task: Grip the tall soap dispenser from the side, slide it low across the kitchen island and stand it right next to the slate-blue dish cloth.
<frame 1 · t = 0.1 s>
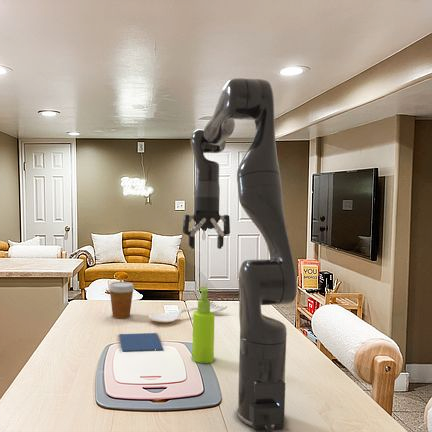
hand: (205, 248, 132), 29 cm above the table, tool pointing down, fingers open, 8 cm apart
disposable coffee cup: (121, 316, 160), on the table
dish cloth: (140, 342, 133), on the table
spoon: (186, 318, 159), on the table
soap dispenser: (202, 359, 121), on the table
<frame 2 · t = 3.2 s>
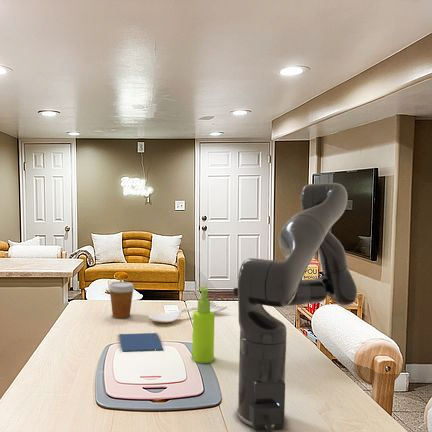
hand: (240, 295, 123), 17 cm above the table, tool horizontal, fingers open, 8 cm apart
nothing on the table moved.
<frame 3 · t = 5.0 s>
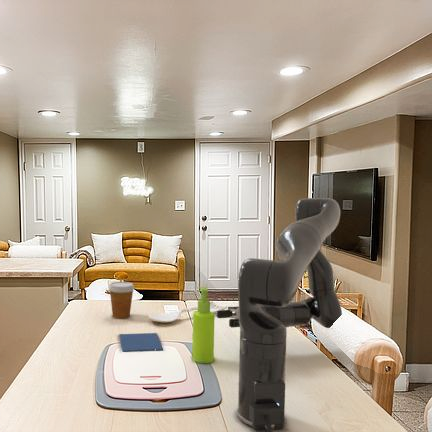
hand: (223, 318, 122), 11 cm above the table, tool horizontal, fingers open, 8 cm apart
nothing on the table moved.
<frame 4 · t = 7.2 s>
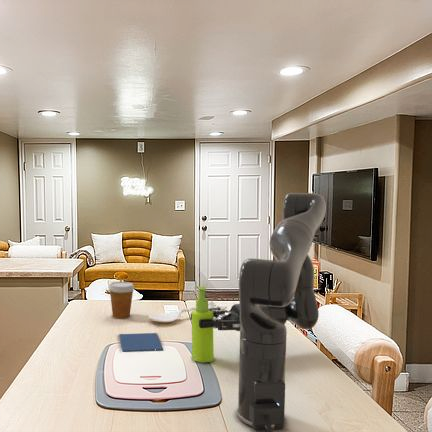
hand: (195, 320, 120), 11 cm above the table, tool horizontal, fingers closed on soap dispenser, 6 cm apart
soap dispenser: (202, 358, 121), on the table, touching gripper
everything else where it was.
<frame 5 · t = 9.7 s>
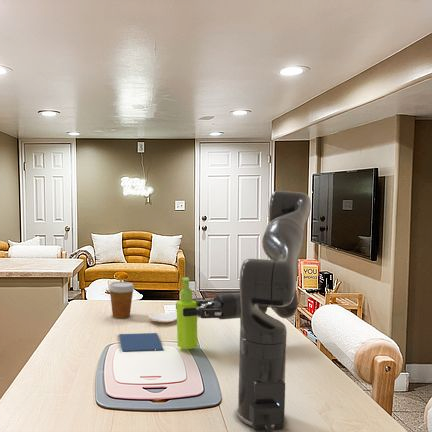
hand: (179, 309, 126), 12 cm above the table, tool horizontal, fingers closed on soap dispenser, 6 cm apart
soap dispenser: (187, 345, 128), point 1 cm above the table, touching gripper
everything else where it was.
when the fingers open (11 cm above the table, at t = 12.2 s): soap dispenser stays where it is, on the table.
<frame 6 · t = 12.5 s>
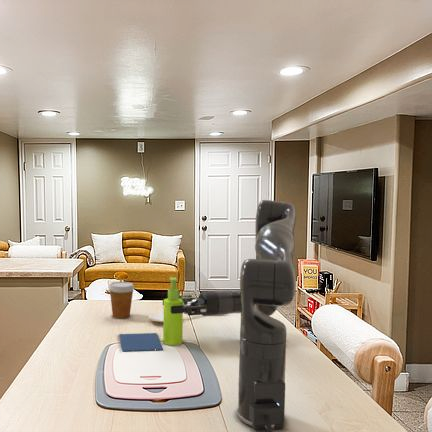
hand: (166, 306, 133), 11 cm above the table, tool horizontal, fingers open, 8 cm apart
soap dispenser: (172, 341, 134), on the table
everything else where it was.
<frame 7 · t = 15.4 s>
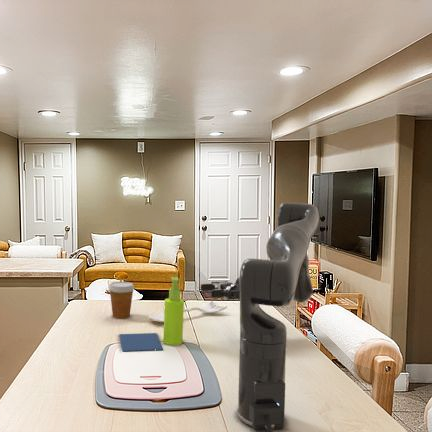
hand: (206, 290, 136), 16 cm above the table, tool horizontal, fingers open, 8 cm apart
nothing on the table moved.
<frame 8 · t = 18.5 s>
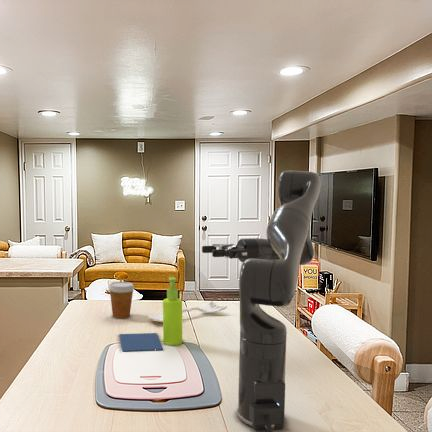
hand: (207, 251, 135), 28 cm above the table, tool horizontal, fingers open, 8 cm apart
at the end: soap dispenser inside the target area (0.5 cm from its centre), on the table; soap dispenser tilted 1°; the gripper is holding nothing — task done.
